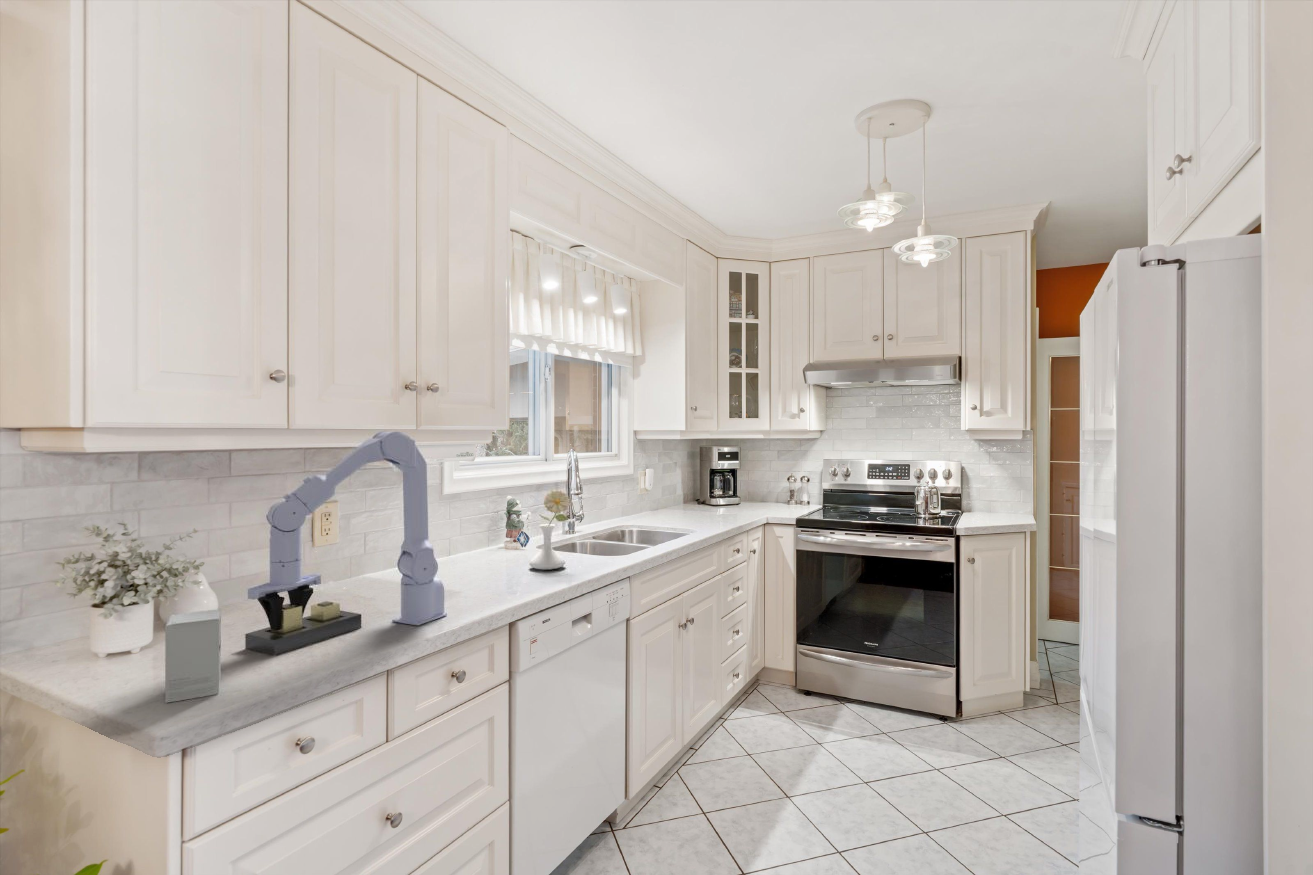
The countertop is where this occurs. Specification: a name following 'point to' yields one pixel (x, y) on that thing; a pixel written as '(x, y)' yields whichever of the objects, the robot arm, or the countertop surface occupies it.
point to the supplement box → (192, 655)
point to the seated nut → (325, 611)
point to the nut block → (290, 619)
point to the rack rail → (301, 634)
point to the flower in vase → (547, 555)
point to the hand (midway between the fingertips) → (286, 626)
